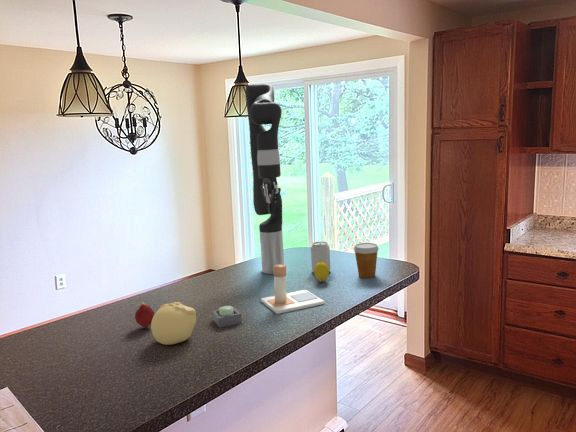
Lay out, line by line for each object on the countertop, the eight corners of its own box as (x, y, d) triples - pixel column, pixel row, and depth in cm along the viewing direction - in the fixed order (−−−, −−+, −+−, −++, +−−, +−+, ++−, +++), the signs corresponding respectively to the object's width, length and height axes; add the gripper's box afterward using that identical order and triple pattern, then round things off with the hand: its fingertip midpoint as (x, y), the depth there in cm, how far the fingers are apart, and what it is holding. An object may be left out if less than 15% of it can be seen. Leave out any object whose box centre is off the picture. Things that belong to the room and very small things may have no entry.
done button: (218, 319, 151) (217, 307, 150) (231, 317, 153) (230, 304, 152) (222, 324, 147) (221, 312, 146) (236, 321, 149) (235, 309, 148)
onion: (159, 324, 151) (157, 299, 149) (148, 332, 145) (145, 306, 144) (143, 323, 153) (141, 298, 151) (132, 330, 147) (129, 305, 146)
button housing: (213, 320, 152) (212, 311, 151) (234, 315, 154) (233, 306, 154) (219, 327, 145) (218, 318, 145) (241, 323, 148) (240, 313, 147)
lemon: (329, 279, 186) (328, 259, 185) (329, 283, 181) (328, 263, 179) (315, 279, 187) (314, 259, 185) (314, 284, 181) (313, 263, 180)
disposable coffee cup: (363, 270, 195) (363, 241, 193) (384, 274, 188) (383, 244, 186) (349, 276, 188) (348, 246, 186) (370, 280, 181) (369, 249, 179)
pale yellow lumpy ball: (203, 334, 141) (200, 299, 139) (176, 351, 131) (172, 313, 129) (173, 329, 147) (170, 294, 145) (144, 345, 136) (140, 308, 134)
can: (309, 273, 195) (307, 244, 193) (315, 268, 202) (314, 240, 200) (327, 274, 192) (325, 245, 190) (332, 269, 199) (331, 240, 197)
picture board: (260, 301, 166) (260, 297, 166) (305, 292, 173) (305, 288, 173) (276, 314, 154) (276, 310, 153) (324, 303, 160) (324, 300, 160)
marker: (272, 300, 162) (271, 265, 160) (283, 298, 164) (282, 263, 162) (277, 304, 159) (277, 268, 157) (289, 301, 161) (288, 266, 159)
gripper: (286, 163, 160) (289, 214, 163) (271, 161, 172) (274, 210, 175) (265, 164, 157) (269, 217, 160) (251, 163, 169) (255, 212, 172)
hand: (272, 213), depth 167 cm, fingers closed
